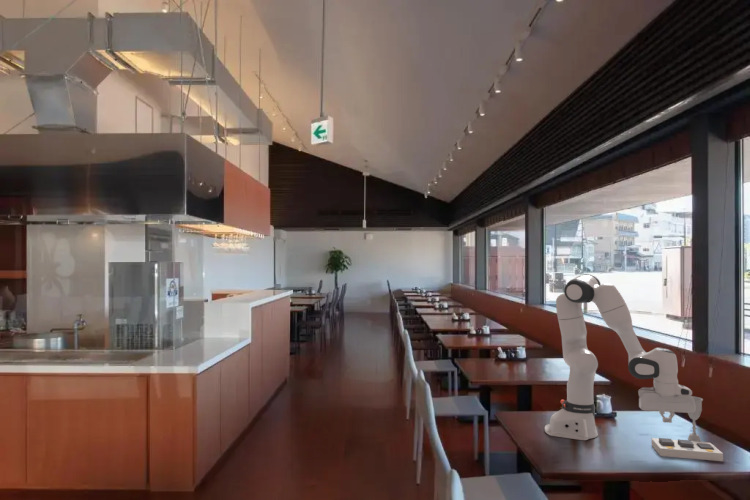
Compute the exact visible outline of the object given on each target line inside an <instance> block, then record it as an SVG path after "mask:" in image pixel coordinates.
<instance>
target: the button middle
mask: <svg viewBox="0 0 750 500" xmlns="http://www.w3.org/2000/svg"><path fill="white" fill-rule="evenodd" d="M677 440H678V445H679V446H680V447H686V448H694V444H693V443H692V442H691V440H688V439H680V438H679V439H677Z"/></svg>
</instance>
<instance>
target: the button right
mask: <svg viewBox="0 0 750 500" xmlns="http://www.w3.org/2000/svg"><path fill="white" fill-rule="evenodd" d="M697 446H698V447H699V448H700V449H710V450H714V448H713V447H712V446H711V445H710V444H703V443H697Z"/></svg>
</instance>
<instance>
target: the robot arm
mask: <svg viewBox="0 0 750 500" xmlns="http://www.w3.org/2000/svg"><path fill="white" fill-rule="evenodd" d="M563 289H564V292H563V293H562V294H560V295H558V296H557V298H556V300H555V305H556V307H555V308H556V316H557V321H558V324H559V325H558V326H559V330H560V335H561V347H562V348H561V349H562V357H563V360H564V362H565V364H566V365H567V366H568V367H569V374H568V375H569V376H568V380H567V382H566V400H565V399H561V400H560V404H561V406H562V408H561V409H560V410H558V411H556V412H555V413H553V414H552V415H551V416H550V418H549V423H548V424H546V425H545V426H544V432H545V433H546V434H547V435H548V436H550V437H559V438H563V439H564V438H565V439H571V440H572V439H573V440H579V441H587V440H590V439H594V438H595V439H596V438H597V437H598V436H599V434H598V431H597V427H596V420H595V415H596V413H595V412H596V406H595V403H594V382H595V379H596V378H595V377H596V372H597V369H598V368H599V361H598V358H597V356H596V355H595V354H594V353H593V352H592V351H591V350H589V349H588V345H587V344H588V343H587V334H588V330H587V327H586V321H585V317H584V313H583V308H582V306H583V305H582V304H585V303H586V304H587V303H591V302H592V303H594V304H595V305H596V307H597V309H598V311H599V312H598V313H599V314H600V316H601V317H602V319H603V321H604V323H605V324H606V325H607V326H608V328H609V329H611V330H613V332H616V334H617V335H618V337H619V338H620V340H621V342H622V344H623V346H624V348H625V350H626V352H627V358H628V359H627V362H628V363H627V364H628V365H627V368H628V373H630V375H631V376H632V377H634V378H635V379H638V380H649V379H650V380H651V379H653V387H646V386H644V387H641V388H640V389H638V391H637V393H638V408H640V410H642V411H647V412H649V411H650V412H659V415H660V416H661V417H662V422H663V423H668V424H671V423H672V422H673V418H674V416H675V414H676V413H684V414H685V413H686V414H688V413H694V412H695V411H696V407H695V401H694V398H693V397H692V396H693V390H691V388H689V387H687V386H686V385H682V384H679V379H678V372H679V368H678V358H677V354H675V352H674V351H672V350H670V349H668V348H664V347H654V348H653V349H652V350H650V351H648V352H647V351H646V349H645V348H643V346H642V344H641V343H640V341H639V338H638V337H637V335H636V332H635V330H634V326H633V320H632V319H633V318H632V316H631V312H630V310H629V307H628V305H627V303H626V301H625V300H624V297H623V296H622V294H621V293H620V292H619V290H618V288H617V287H616V286H615V285H614V284H611V283H602V284H601V281H600V280H599V278H597V276H595V275H593V274H586V273H585V274H583V275H578V276H576V277H574V278H573V279H570V280H569V281H568V282H566V284H565V286H564V288H563ZM665 412H667V413H669V416H665Z"/></svg>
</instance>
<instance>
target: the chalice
mask: <svg viewBox="0 0 750 500" xmlns="http://www.w3.org/2000/svg"><path fill="white" fill-rule="evenodd" d="M691 396H692V397H693V398H694V401H695V407H696V411H695V412H694V413H687V415H688V416H689V418H690V419H691V420H692V423H691V425H692V427H691V429H692V433H689V435H688V437H687V440H690V441H695V442H702V440H701V437H700V435H699V434H698V433H697V432H696V430H697V428H696V426H697V423H696V421H697V420H698V419H699V418H700V416H701V413H702V411H703V406H702V405H703V401H704V399H703V398H702V397H698V396H694V395H691Z"/></svg>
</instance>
